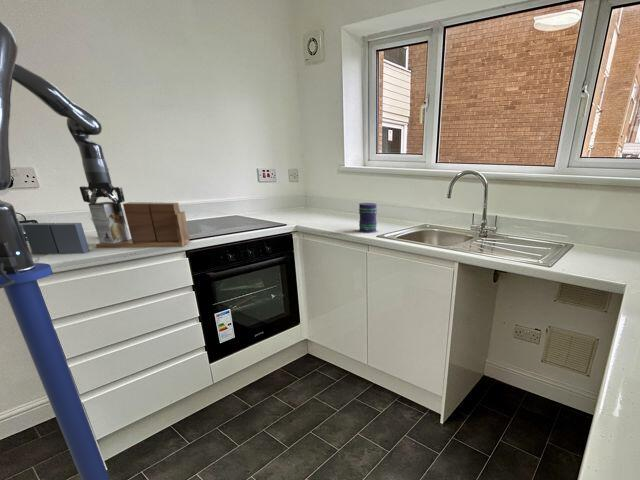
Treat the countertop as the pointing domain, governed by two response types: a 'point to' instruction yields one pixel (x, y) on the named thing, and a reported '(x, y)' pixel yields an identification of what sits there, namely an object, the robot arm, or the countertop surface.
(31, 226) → the grey book
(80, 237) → the grey book
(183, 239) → the wooden rack
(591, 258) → the countertop surface
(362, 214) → the storage jar
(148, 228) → the box
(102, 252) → the countertop surface
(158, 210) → the box
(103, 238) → the coffee box
